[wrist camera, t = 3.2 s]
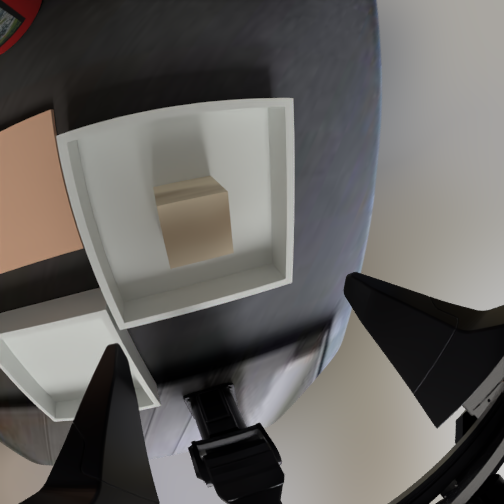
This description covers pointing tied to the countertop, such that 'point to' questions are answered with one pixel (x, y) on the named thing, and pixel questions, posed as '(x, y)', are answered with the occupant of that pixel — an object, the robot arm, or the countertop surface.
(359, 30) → the countertop surface
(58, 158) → the tile
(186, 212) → the beech cube
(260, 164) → the tray
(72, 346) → the tray
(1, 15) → the beverage can
